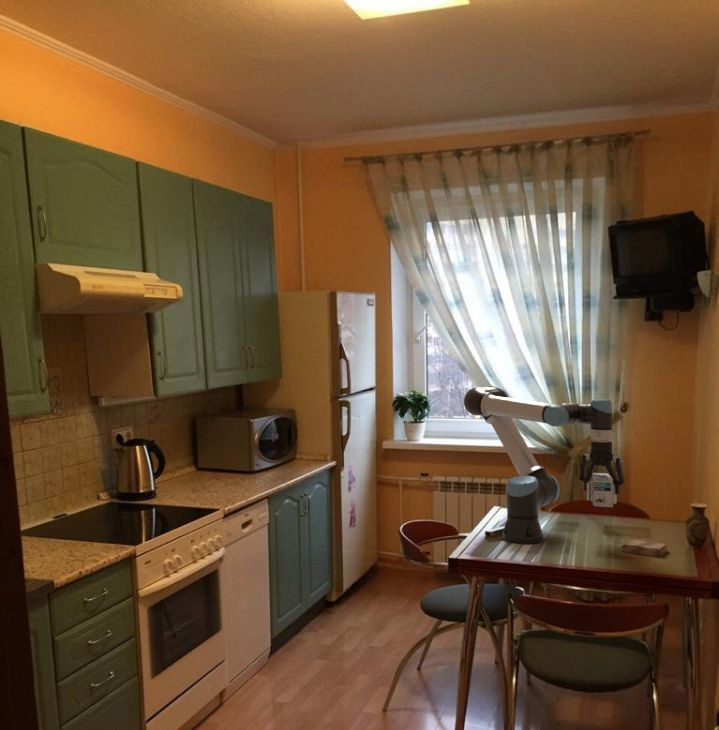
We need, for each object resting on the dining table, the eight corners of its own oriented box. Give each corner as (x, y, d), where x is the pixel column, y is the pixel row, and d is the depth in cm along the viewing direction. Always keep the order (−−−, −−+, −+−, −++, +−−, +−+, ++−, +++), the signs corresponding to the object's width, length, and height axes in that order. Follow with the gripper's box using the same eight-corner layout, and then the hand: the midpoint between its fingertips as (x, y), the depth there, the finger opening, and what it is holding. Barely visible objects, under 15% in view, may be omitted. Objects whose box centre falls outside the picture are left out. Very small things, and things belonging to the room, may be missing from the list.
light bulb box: (613, 507, 240) (613, 478, 240) (593, 506, 242) (593, 477, 241) (608, 501, 250) (608, 473, 250) (590, 500, 252) (590, 472, 252)
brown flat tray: (622, 551, 237) (622, 544, 237) (629, 545, 244) (629, 538, 244) (661, 557, 229) (661, 550, 229) (667, 551, 236) (667, 544, 236)
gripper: (569, 439, 249) (569, 499, 250) (628, 444, 236) (628, 507, 237) (576, 437, 255) (576, 496, 256) (634, 441, 242) (634, 503, 243)
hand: (601, 501), depth 246 cm, fingers closed on light bulb box, 9 cm apart
